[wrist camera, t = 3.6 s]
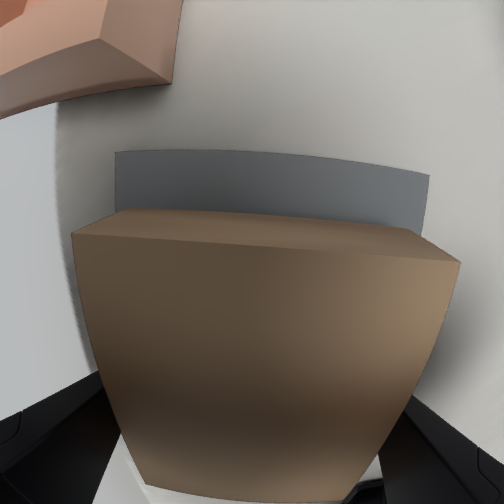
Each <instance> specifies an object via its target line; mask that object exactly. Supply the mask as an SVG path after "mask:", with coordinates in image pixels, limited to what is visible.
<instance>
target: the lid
mask: <svg viewBox="0 0 504 504" xmlns="http://www.w3.org/2000/svg"><path fill="white" fill-rule="evenodd" d="M71 237H72V246H73V254H74V262H75V269H76V275H77V281H78V287H79V293H80V298H81V303H82V308H83V313H84V317H85V322H86V326H87V330H88V334H89V338H90V342H91V346H92V350H93V353H94V357H95V360H96V364H97V367H98V370H99V374H100V377H101V380H102V383H103V386H104V389H105V390H106V393H107V396H108V399H109V402H110V405H111V407H112V410H113V413H114V415H115V418H116V420H117V423H118V425H119V428H120V430H121V434H122V436H123V438H124V441H125V443H126V445H127V448H128V450H129V452H130V454H131V456H132V458H133V461H134V463H135V465H136V467H137V469H138V471H139V473H140V475H141V477H142V479H143V480H144V482H145V484H147V485H151V486H155V487H159V488H163V489H167V490H172V491H176V492H181V493H186V494H192V495H197V496H203V497H210V498H217V499H225V500H235V501H246V502H262V503H313V502H329V501H340V500H344V499H345V497H346V496H347V495H348V494H349V492H350V491H351V490H352V489H353V487H354V486H355V485H356V483H357V482H358V481H359V479H360V478H361V477H362V475H363V474H364V473H365V471H366V470H367V468H368V467H369V465H370V464H371V463H372V461H373V460H374V458H375V457H376V455H377V454H378V451H379V450H380V448H381V447H382V445H383V444H384V442H385V440H386V439H387V437H388V435H389V434H390V432H391V430H392V429H393V427H394V425H395V424H396V422H397V420H398V418H399V417H400V415H401V413H402V412H403V410H404V408H405V407H406V405H407V403H408V401H409V399H410V397H411V395H412V393H413V391H414V389H415V387H416V385H417V383H418V381H419V379H420V377H421V374H422V372H423V370H424V368H425V366H426V363H427V361H428V359H429V356H430V354H431V352H432V349H433V347H434V344H435V342H436V339H437V337H438V334H439V331H440V329H441V326H442V323H443V320H444V318H445V315H446V312H447V309H448V306H449V303H450V300H451V296H452V293H453V290H454V286H455V283H456V279H457V276H458V272H459V268H460V264H461V262H460V261H458V260H457V259H455V258H454V257H452V256H451V255H449V254H448V253H446V252H445V251H443V250H442V249H440V248H439V247H437V246H435V245H434V244H432V243H431V242H429V241H427V240H426V239H424V238H422V237H421V236H419V235H418V234H416V233H414V232H413V231H411V230H409V229H408V228H400V227H391V226H382V225H373V224H364V223H355V222H345V221H334V220H324V219H313V218H301V217H289V216H276V215H263V214H248V213H233V212H216V211H198V210H176V209H151V208H127V209H125V210H123V211H120V212H118V213H115V214H113V215H111V216H108V217H106V218H104V219H101V220H99V221H97V222H94V223H92V224H90V225H88V226H85V227H83V228H81V229H79V230H77V231H74V232H72V233H71Z"/></svg>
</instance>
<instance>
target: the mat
mask: <svg viewBox="0 0 504 504" xmlns="http://www.w3.org/2000/svg"><path fill="white" fill-rule="evenodd" d="M429 176H430V175H427V174H422V173H417V172H413V171H407V170H402V169H397V168H391V167H386V166H380V165H374V164H367V163H361V162H354V161H347V160H339V159H331V158H323V157H314V156H304V155H293V154H281V153H268V152H252V151H230V150H144V151H123V152H115V207H116V213H118V212H120V211H123V210H125V209H127V208H151V209H176V210H198V211H216V212H233V213H248V214H263V215H276V216H289V217H301V218H313V219H324V220H334V221H345V222H355V223H364V224H373V225H382V226H391V227H400V228H408V229H409V230H411V231H413V232H414V233H416V234H418V235H419V236H421V232H422V226H423V220H424V214H425V208H426V201H427V193H428V185H429Z"/></svg>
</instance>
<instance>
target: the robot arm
mask: <svg viewBox="0 0 504 504" xmlns="http://www.w3.org/2000/svg"><path fill="white" fill-rule="evenodd" d="M120 434H121V430H120V428H119V425H118V423H117V420H116V418H115V415H114V413H113V410H112V407H111V405H110V402H109V399H108V396H107V393H106V390H105V389H104V386H103V383H102V380H101V377H100V374H99V370H98V371H96V372H94V373H92V374H90V375H88V376H87V377H85V378H83V379H81V380H79V381H77V382H76V383H74V384H72V385H70V386H68V387H66V388H64V389H63V390H60V391H59V392H57V393H55V394H53V395H51V396H49V397H47V398H45V399H43V400H41V401H39V402H37V403H35V404H34V405H32V406H30V407H28V408H26V409H24V410H23V411H20V412H18V413H16V414H14V415H12V416H10V417H7V418H5V419H3V420H1V421H0V504H92V503H93V500H94V497H95V495H96V492H97V490H98V487H99V485H100V482H101V480H102V477H103V475H104V472H105V470H106V467H107V465H108V463H109V460H110V458H111V455H112V453H113V451H114V448H115V446H116V444H117V441H118V439H119V436H120ZM378 456H379V461H380V466H381V471H382V476H383V481H377V482H370V483H364V484H361V485H359V486H357V487H356V488H355V489H354V491H353V492H352V493H351V494H350V496H349V497H348V498H347V499H346V500H345V502H344V503H343V504H504V465H503V464H502V463H500V462H499V461H497V460H496V459H495V458H493V457H492V456H490V455H489V454H488V453H486V452H485V451H484V450H482V449H481V448H480V447H478V448H477V445H476V444H474V443H473V442H472V441H471V440H469V439H468V438H467V437H465V436H464V435H463V434H461V433H460V432H459V431H458V430H456V429H455V428H454V427H452V426H451V425H450V424H449V423H447V422H446V421H445V420H444V419H442V418H441V417H440V416H438V415H437V414H436V413H435V412H433V411H432V410H431V409H429V408H428V407H427V406H426V405H424V404H423V403H422V402H421V401H419V400H418V399H417V398H415V397H414V396H413V395H411V397H410V399H409V401H408V403H407V405H406V407H405V408H404V410H403V412H402V413H401V415H400V417H399V418H398V420H397V422H396V424H395V425H394V427H393V429H392V430H391V432H390V434H389V435H388V437H387V439H386V440H385V442H384V444H383V445H382V447H381V448H380V450H379V451H378Z"/></svg>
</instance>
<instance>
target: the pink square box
mask: <svg viewBox="0 0 504 504" xmlns="http://www.w3.org/2000/svg"><path fill="white" fill-rule="evenodd" d="M182 2H183V0H0V119H3V118H6V117H9V116H11V115H14V114H17V113H21V112H24V111H27V110H30V109H33V108H37V107H40V106H44V105H47V104H51V103H55V102H59V101H63V100H67V99H71V98H76V97H81V96H85V95H90V94H95V93H101V92H107V91H113V90H119V89H126V88H133V87H141V86H150V85H161V84H172V75H173V65H174V57H175V49H176V41H177V34H178V27H179V20H180V14H181V8H182Z"/></svg>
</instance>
